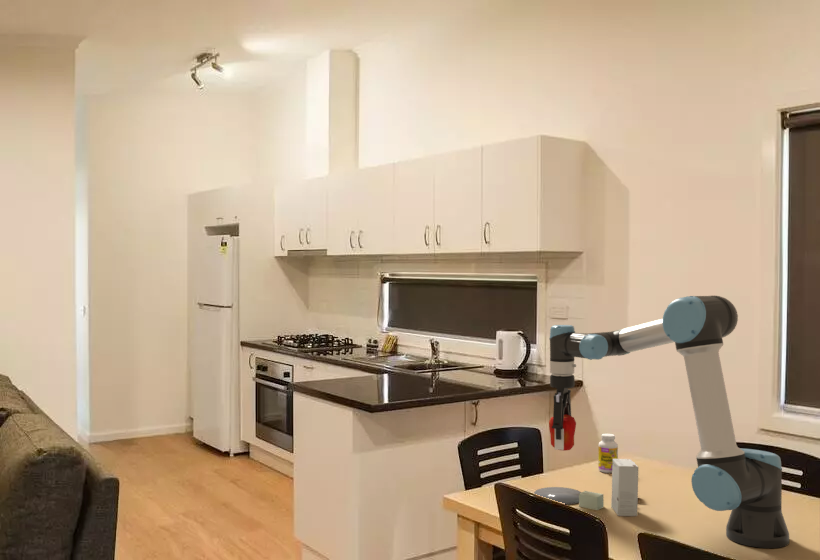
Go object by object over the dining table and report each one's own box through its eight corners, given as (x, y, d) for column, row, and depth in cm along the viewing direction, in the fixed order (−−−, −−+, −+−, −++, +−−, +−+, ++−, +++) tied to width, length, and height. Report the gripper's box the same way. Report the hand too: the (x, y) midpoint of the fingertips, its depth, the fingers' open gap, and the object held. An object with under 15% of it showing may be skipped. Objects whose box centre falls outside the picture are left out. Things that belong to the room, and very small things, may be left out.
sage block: (597, 510, 228) (597, 497, 228) (579, 507, 232) (578, 493, 232) (603, 507, 231) (603, 494, 231) (585, 503, 235) (585, 490, 235)
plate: (578, 506, 232) (578, 502, 232) (529, 501, 237) (529, 497, 237) (586, 493, 245) (586, 489, 245) (540, 488, 251) (540, 485, 251)
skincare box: (610, 507, 230) (610, 458, 230) (631, 507, 230) (630, 458, 230) (618, 516, 222) (617, 465, 222) (639, 516, 222) (638, 465, 222)
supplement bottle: (598, 472, 270) (597, 436, 270) (598, 468, 277) (598, 432, 277) (617, 473, 269) (617, 437, 269) (618, 469, 275) (617, 433, 275)
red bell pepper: (560, 444, 248) (560, 408, 248) (582, 449, 241) (581, 411, 241) (543, 448, 242) (543, 411, 242) (564, 453, 236) (564, 415, 236)
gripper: (567, 379, 230) (567, 455, 231) (580, 370, 250) (581, 440, 250) (542, 378, 233) (542, 452, 233) (557, 369, 253) (558, 438, 253)
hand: (562, 446), depth 242 cm, fingers closed on red bell pepper, 9 cm apart
